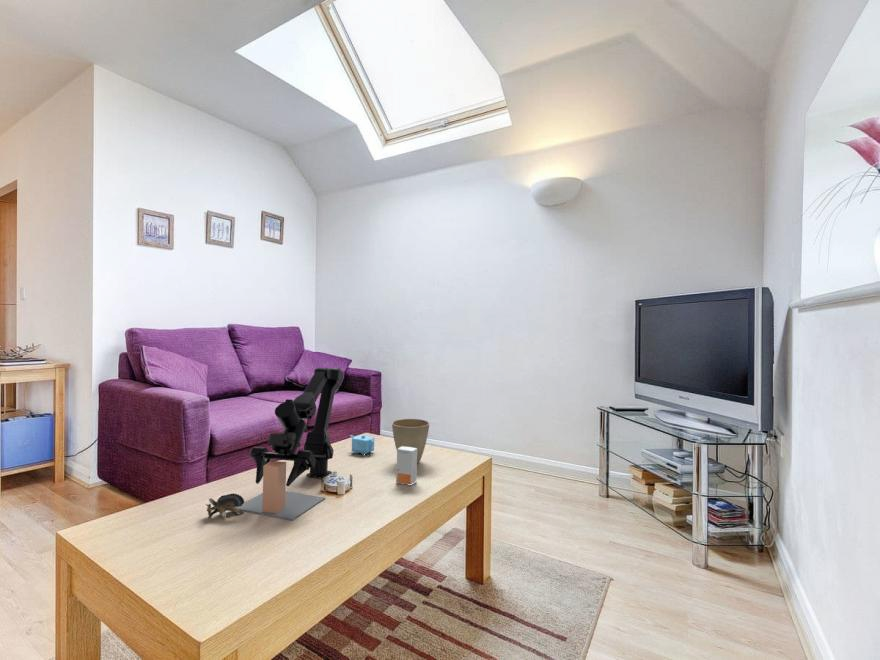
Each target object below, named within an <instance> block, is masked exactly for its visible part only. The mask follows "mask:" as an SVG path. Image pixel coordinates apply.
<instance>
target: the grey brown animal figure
mask: <svg viewBox="0 0 880 660" xmlns="http://www.w3.org/2000/svg"><path fill="white" fill-rule="evenodd" d="M208 502H209V504H207V503H205V505H206V507H207V508H206V512H207V515H208V517H207V518H208V520H210V519H211V518H212V517H213V516H214V515H215V514H217V513H219V515H221V516H222V518H223V521H225V520H226V518H227V514H226V512H227V511H228V512H233V513H236V514H238V515H244V514H245V511H241V510H239V509H238V508H236V507H240V506H242V504H244V502H246V501H245V499H244V498H243V496H241V494H238V493H229V494H225V495H221V496H220V497H219V498H218V499H217V501H216V500H215V499H214V498H212V497H211V498H209V499H208Z"/></svg>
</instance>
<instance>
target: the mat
mask: <svg viewBox="0 0 880 660" xmlns="http://www.w3.org/2000/svg"><path fill="white" fill-rule="evenodd" d="M325 500H326V497H323V496H318V495H311V494H306V493H301V492H300V493H299V492H294V491H293V492H292V491H288V490H286V493H285V507H284V508H283V509H282V510H280V511H279V512H278V513H271V512H262V503H263V492H262V493H260V494H257V495H256V496H254V497H252V498H250V499H248V500H246V501H245V502H244V504H242V506H240V507H236V508H238V509H239V510H241V511H243V512H244V513H245V512H246V513H249V514H250V513H251V514H257V515H260V516H267V517H272V518H277V519H282V520H288V521H294V520H296V519H298V518H299V517H301V516H302V515H304V514H305V513H307V512H308V511H310V510H311V509H313V508H314V507H316V506H317V505H318V504H320V503H321V502H323V501H325Z"/></svg>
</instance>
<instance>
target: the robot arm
mask: <svg viewBox="0 0 880 660" xmlns="http://www.w3.org/2000/svg"><path fill="white" fill-rule="evenodd" d="M343 380H344V371H342V369H340V368H336V367H335V368H334V367H317V368H315V369H314V372H313V376H312V377H311V378H310V381H309V382H308V384H307V386H306V387H305V389H304V390H303V393H302V394H300V395H298V396H296V397H295V398H294V400H293V399H291V398H289V399H288V398H287V399H285V401H284V402H282V403H279V405H277V406H276V407H275V409H274V415H275V416H276V418H277V420H278V421H279V423H280V425H281V426H282V427H283V428H284V429H283V432H282V433H269V437H268V441H267V445H268V446H271V449H272V451H274V452H272V451H269V450H268V448H267V447H266V446H264V447H263V446H253V447H252V448H251V450H250V452H249V453H248V454H249V456H250V457H251V458H252V459H253V461H254V463H256V472H255V473H256V475H255V483H256V484H257V485H258V484H259V483H260V482H261V481H262V480H263V466H264V465H266V464H267V463H269V462H271V460H278V461H291V462H293V466H292V468H291V471H290V473H289V475H288V478H287V479H286V480H287V481H286V487H289V486H291V485H292V484H293V483H294V482H295V480H297V479H298V478H299V476H301V475H302V474H303V473H305V471H309V472H308V473H306V475H305V476H306V477H312V478H318V479H322V477H323V478H324V476H325V477H326V476H328V475H329V474H332V471H331V470H328V467H329V466H328V463H329V460H331V459H333V456H334V448H333V447H332V444H331V438H330V434H329V431H328V429H329V425H330V420H331V414H332V408H333V403H334V397H335V394H336V392H337V390H338V389H340V387H341V385H342V381H343ZM319 396H320V397H319ZM318 398H319V401H318V406H317V404H316V402H317V399H318ZM317 407H318V408H317ZM316 411H317V412H316ZM314 416H316V417H315V422H314V427H313V429H312V430H311V431H308V427H307V424H306V421H304V420H311V419H313V418H314ZM307 431H308V432H307ZM304 432H307V434H306V439H305V442H304V445H303V449H299V450H298V448H300V447H301V445H302V444H301V439H302V437H303V434H304ZM296 452H297V453H296Z"/></svg>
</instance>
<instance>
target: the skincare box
mask: <svg viewBox="0 0 880 660" xmlns="http://www.w3.org/2000/svg"><path fill="white" fill-rule="evenodd" d="M417 466H418V464H417V448H412V447H405V446H402V447H400V448H398V449H397V450H396V472H395V476H396V478H395V483H396V482H397V483H396V484H399V483H404V484H412V483H414V482H415V481H416V482H417V475H418V473H417V472H418V468H417ZM404 484H403V485H404Z"/></svg>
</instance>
